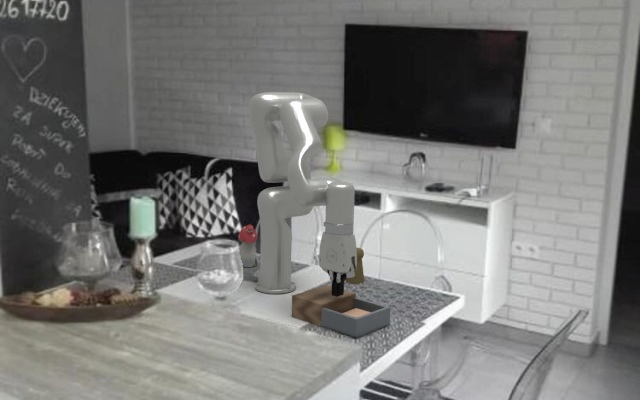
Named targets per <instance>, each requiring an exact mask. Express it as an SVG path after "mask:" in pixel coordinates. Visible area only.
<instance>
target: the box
mask: <svg viewBox="0 0 640 400" xmlns="http://www.w3.org/2000/svg"><path fill="white" fill-rule="evenodd" d="M355 308H358V309H361V310H364V311H368V312H371V313H368V314H365V315H363V316H360V317H357V318H356V317H352V316H349V315H346V314H343V313H340V312H337V311H333V310H330V309H327V308H322V316H321V326H320V327H322V328H325V329H327V330H330V331H334V332H337V333H338V334H342V335H344V336H347V337H349V338H350V337H351V338H354V339H359V338H361V337H364V336H367V335H369V334H372V333H374V332H376V331H378V330H381V329H385V328H387V327H389V326H390V325H391V307H390V306H387V305H384V304H381V303H377V302H373V301H370V300H367V299H364V298H360V297H357V296H356V297H355V298H354V299H353V309H355ZM388 325H389V326H388ZM386 326H387V327H386Z"/></svg>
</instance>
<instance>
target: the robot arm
mask: <svg viewBox="0 0 640 400" xmlns="http://www.w3.org/2000/svg"><path fill="white" fill-rule="evenodd" d="M247 112H248V120H249V123H250V127H251V130H252V133H253V136H254V139H255V150H256V157H257V158H256V159H257V165H258V173H259V176H260V179H261V180H262V181H263V182H264V183H270V184H271V183H288V185H287V186H284V185H283V186H272V187H267V188H265V189H263V190H262V191H260V192H259V193H258V195H257V204H256V205H257V210H258V215H259V225H260V227H259V228H260V230H259V231H260V248H259V250H260V253H259V255H260V256H259V257H260V260H259V261H260V267H259V269H257V270H256V271H255V272H254V273H253V277H254V278H257V281H256V283H255V284H254V288H255V290H257V291H258V292H260V293H264V294H271V295H272V294H274V295H276V294H277V295H278V294H279V295H281V294H286V293H291V292H293V291H294V290H296V288H297V285H296V283H295V282H294V281H292V239H293V238H292V237H293V236H292V235H293V234H292V230H291V227H290V226H289V224H288V223H287V222H286V219H287V218H295V217H305V216H306V215H309V214H311V212H312V210H313V208H314V207H325V221H323V227H324V229H325V231H323V232H322V235H321V238H320V239H321V240H320V243H319V244H320V245H319V255H318V265H319V267H320V268H321V269H322V271H323V272H325V273H326V274H328V276H329V280H330V282H331V287H332V296H335V297H338V296H341V295H343V294H344V290H345V282H346V279H347V278H352V277H355V272H354V271H355V270H356V267H357V248H358V247H357V241H356V240H357V239H356V236H355V234H354V226H355V225H354V222H355V221H354V220H355V219H354V218H355V186H354V184H353V183H351V182H347V181H342V180H341V179H339V178H336V177H317V178H312V173H311V166H310V161H309V158H311V157H312V156H313V155H315V154H316V153H317V152H319V151H320V149H321V148H322V141H321V140H322V139H321V138H320V135H319V133H318V130H317V129H320V128H323V127H324V126H326V125H327V122H328V121H329V111H328V108H327V105H326V104H325V103H324V102H323V101H322V100H321V99H320V98H317V97H314V96H311V95H309V94H307V93H303V92H294V91H293V92H291V91H290V92H289V91H287V92H286V91H285V92H284V91H281V92H280V91H279V92H278V91H268V92H267V91H266V92H261V93H257V94H255V95H253V96H252V98H250V101H249V103H248V111H247ZM274 121H275V122H277V121H280V123H281V124H282V127H283V129H284V132H285V135H286V137H287V140H288V143H289V146H290V148H291V150H286V149H285V144H284V143H285V142H284V135H283V134H282V133H283V132H282V131H281V130H280V129H279V127H278V126H277V125H276V124H275V123H274ZM347 272H348V273H347Z"/></svg>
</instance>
